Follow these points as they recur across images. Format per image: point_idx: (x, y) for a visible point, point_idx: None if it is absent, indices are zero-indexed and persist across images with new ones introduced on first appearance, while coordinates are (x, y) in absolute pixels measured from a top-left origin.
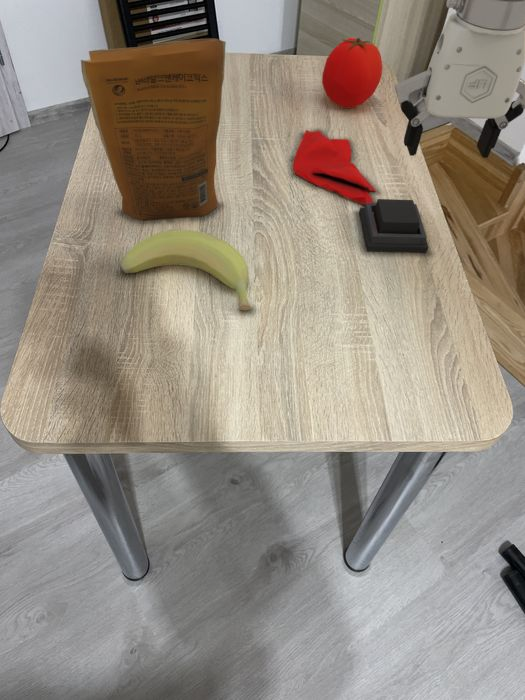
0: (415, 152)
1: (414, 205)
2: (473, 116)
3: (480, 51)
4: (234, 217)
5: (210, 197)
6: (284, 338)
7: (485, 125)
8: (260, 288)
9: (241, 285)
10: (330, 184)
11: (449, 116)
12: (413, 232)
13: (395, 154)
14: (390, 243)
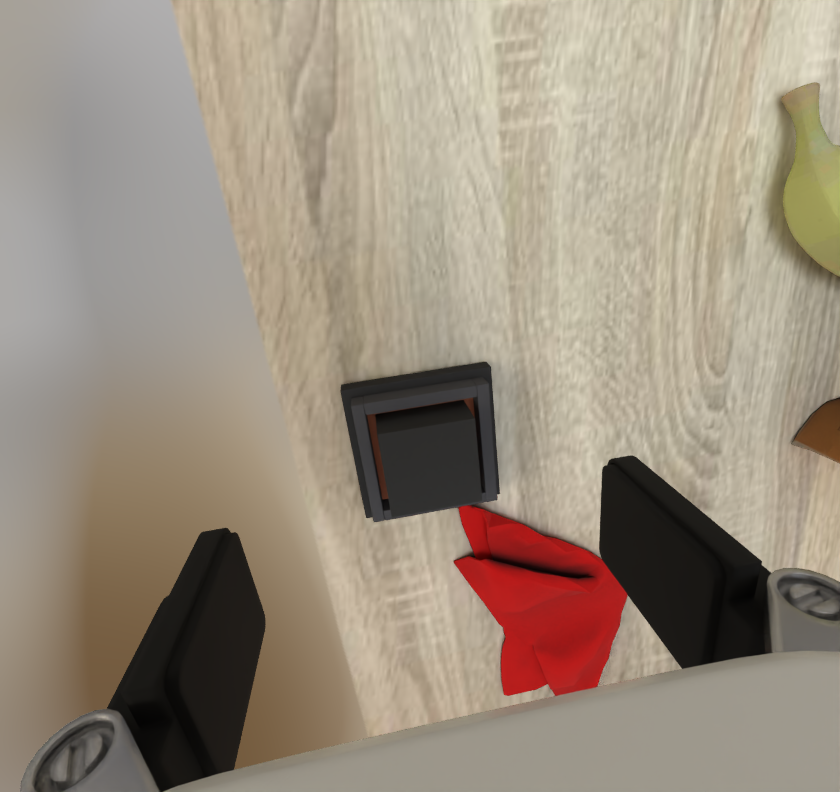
0: (617, 468)
1: (389, 497)
2: (424, 744)
3: None
4: (762, 413)
5: (838, 440)
6: (709, 4)
7: (231, 738)
8: (740, 187)
9: (824, 142)
10: (558, 553)
11: (693, 674)
12: (384, 420)
13: (404, 681)
14: (436, 384)
